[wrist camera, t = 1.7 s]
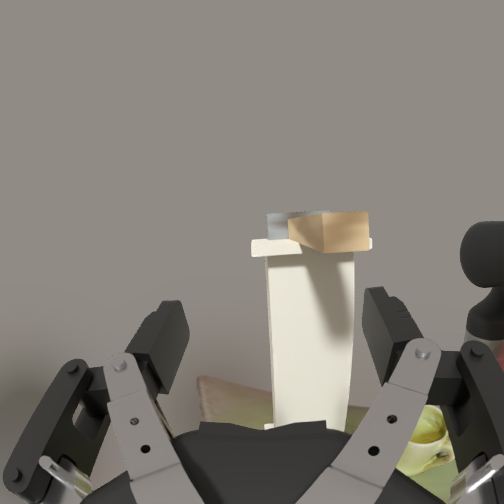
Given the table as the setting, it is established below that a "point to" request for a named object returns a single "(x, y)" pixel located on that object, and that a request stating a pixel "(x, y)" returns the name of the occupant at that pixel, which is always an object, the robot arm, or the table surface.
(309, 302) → the stand
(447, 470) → the table surface
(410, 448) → the mug
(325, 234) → the hammer
